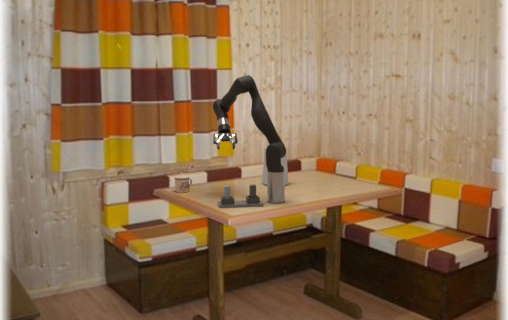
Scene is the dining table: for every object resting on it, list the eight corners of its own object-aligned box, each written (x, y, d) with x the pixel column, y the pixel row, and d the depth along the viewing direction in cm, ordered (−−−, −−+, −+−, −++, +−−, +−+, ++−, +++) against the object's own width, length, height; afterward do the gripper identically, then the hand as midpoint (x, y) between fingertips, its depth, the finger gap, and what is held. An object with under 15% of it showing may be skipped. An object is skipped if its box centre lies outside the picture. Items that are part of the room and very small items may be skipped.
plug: (229, 202, 297) (229, 185, 295) (230, 203, 293) (230, 186, 292) (223, 202, 296) (223, 185, 295) (224, 203, 293) (224, 186, 291)
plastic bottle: (290, 185, 351) (291, 143, 347) (269, 187, 346) (269, 144, 342) (280, 181, 365) (281, 140, 361) (260, 183, 360) (260, 141, 356)
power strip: (260, 202, 303) (260, 183, 301) (263, 206, 293) (263, 186, 291) (217, 203, 299) (217, 184, 297) (219, 208, 289) (219, 187, 288)
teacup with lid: (180, 193, 327) (180, 174, 325) (171, 191, 334) (171, 172, 332) (196, 190, 335) (196, 172, 334) (187, 188, 342) (187, 170, 340)
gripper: (212, 123, 318) (214, 144, 309) (236, 123, 321) (239, 144, 311) (211, 131, 324) (213, 152, 315) (235, 131, 327) (237, 152, 317)
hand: (226, 148), depth 313 cm, fingers open, 8 cm apart
